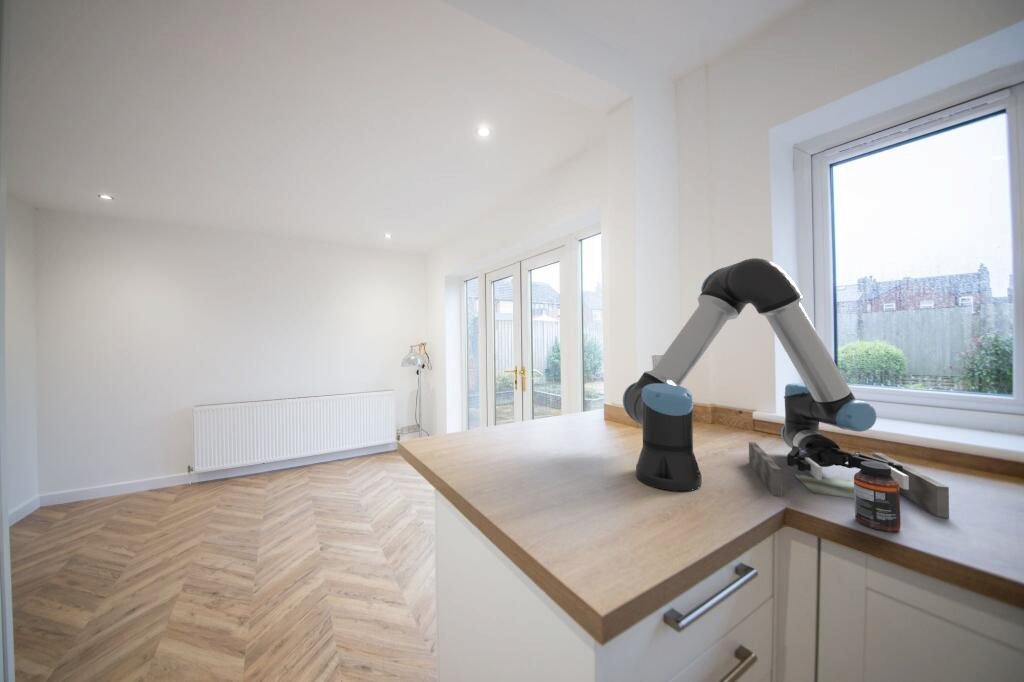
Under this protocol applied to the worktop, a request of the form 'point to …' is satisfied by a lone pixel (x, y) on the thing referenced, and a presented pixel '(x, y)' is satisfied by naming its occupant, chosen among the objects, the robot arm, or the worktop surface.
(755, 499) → the worktop surface
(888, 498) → the supplement bottle
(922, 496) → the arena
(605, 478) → the worktop surface
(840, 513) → the worktop surface
